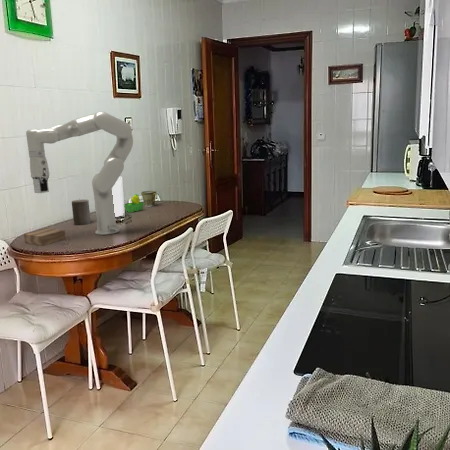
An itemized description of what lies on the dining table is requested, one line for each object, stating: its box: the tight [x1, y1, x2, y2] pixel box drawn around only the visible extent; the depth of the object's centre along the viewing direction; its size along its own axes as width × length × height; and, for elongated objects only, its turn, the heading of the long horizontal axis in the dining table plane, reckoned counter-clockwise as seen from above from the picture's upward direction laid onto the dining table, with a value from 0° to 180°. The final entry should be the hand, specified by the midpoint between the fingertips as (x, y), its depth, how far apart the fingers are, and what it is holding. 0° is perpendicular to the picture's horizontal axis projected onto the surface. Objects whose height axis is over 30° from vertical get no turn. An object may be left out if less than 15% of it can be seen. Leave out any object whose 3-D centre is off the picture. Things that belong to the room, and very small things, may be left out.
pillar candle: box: [71, 198, 92, 226], centre depth 291 cm, size 10×10×15 cm
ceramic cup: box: [140, 190, 158, 208], centre depth 335 cm, size 13×10×10 cm
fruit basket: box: [124, 193, 144, 213], centre depth 321 cm, size 11×9×11 cm
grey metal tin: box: [32, 178, 50, 194], centre depth 250 cm, size 5×5×7 cm
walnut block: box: [23, 228, 67, 247], centre depth 252 cm, size 14×14×5 cm
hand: (41, 190), depth 250 cm, fingers closed on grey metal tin, 5 cm apart
